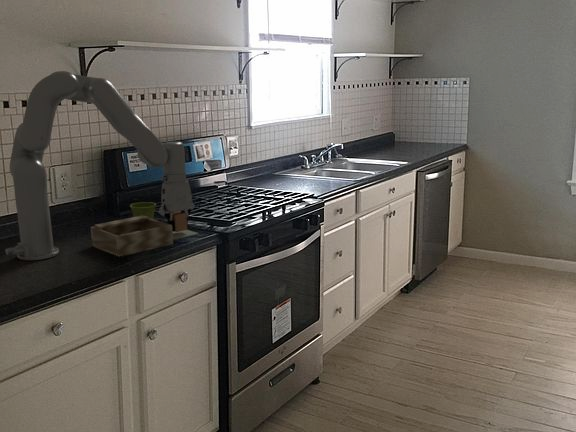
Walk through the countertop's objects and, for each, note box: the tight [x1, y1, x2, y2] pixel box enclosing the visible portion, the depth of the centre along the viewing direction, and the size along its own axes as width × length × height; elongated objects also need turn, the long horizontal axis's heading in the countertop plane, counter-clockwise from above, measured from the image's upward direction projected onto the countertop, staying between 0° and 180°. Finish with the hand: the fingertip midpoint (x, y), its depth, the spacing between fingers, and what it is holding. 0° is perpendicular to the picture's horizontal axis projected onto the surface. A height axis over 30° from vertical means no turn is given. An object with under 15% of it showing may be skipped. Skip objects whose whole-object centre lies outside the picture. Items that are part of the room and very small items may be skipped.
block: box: [173, 211, 188, 232], centre depth 228 cm, size 4×4×6 cm
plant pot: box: [129, 201, 157, 220], centre depth 239 cm, size 9×9×9 cm
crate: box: [90, 215, 174, 258], centre depth 217 cm, size 20×18×7 cm
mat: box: [173, 229, 200, 241], centre depth 229 cm, size 10×10×1 cm
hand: (178, 228), depth 229 cm, fingers closed on block, 4 cm apart
